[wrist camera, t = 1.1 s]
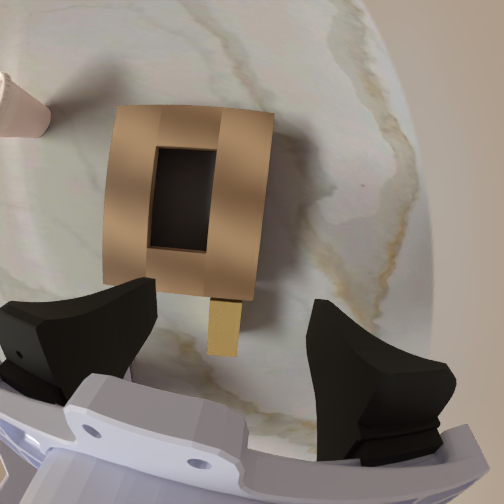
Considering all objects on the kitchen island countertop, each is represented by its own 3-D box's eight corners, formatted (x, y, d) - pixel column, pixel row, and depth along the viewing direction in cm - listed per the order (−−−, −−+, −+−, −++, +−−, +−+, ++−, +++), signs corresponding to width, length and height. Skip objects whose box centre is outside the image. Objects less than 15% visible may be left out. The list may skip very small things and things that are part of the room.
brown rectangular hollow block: (248, 281, 25) (253, 300, 21) (124, 268, 24) (103, 284, 19) (265, 129, 23) (274, 113, 18) (137, 121, 22) (117, 106, 17)
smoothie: (64, 90, 20) (-16, 44, 6) (56, 144, 21) (-40, 122, 7) (25, 103, 19) (-53, 74, 6) (18, 154, 21) (-70, 144, 7)
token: (235, 333, 26) (236, 356, 22) (209, 330, 26) (207, 354, 22) (239, 285, 26) (242, 303, 21) (213, 283, 25) (210, 300, 21)
